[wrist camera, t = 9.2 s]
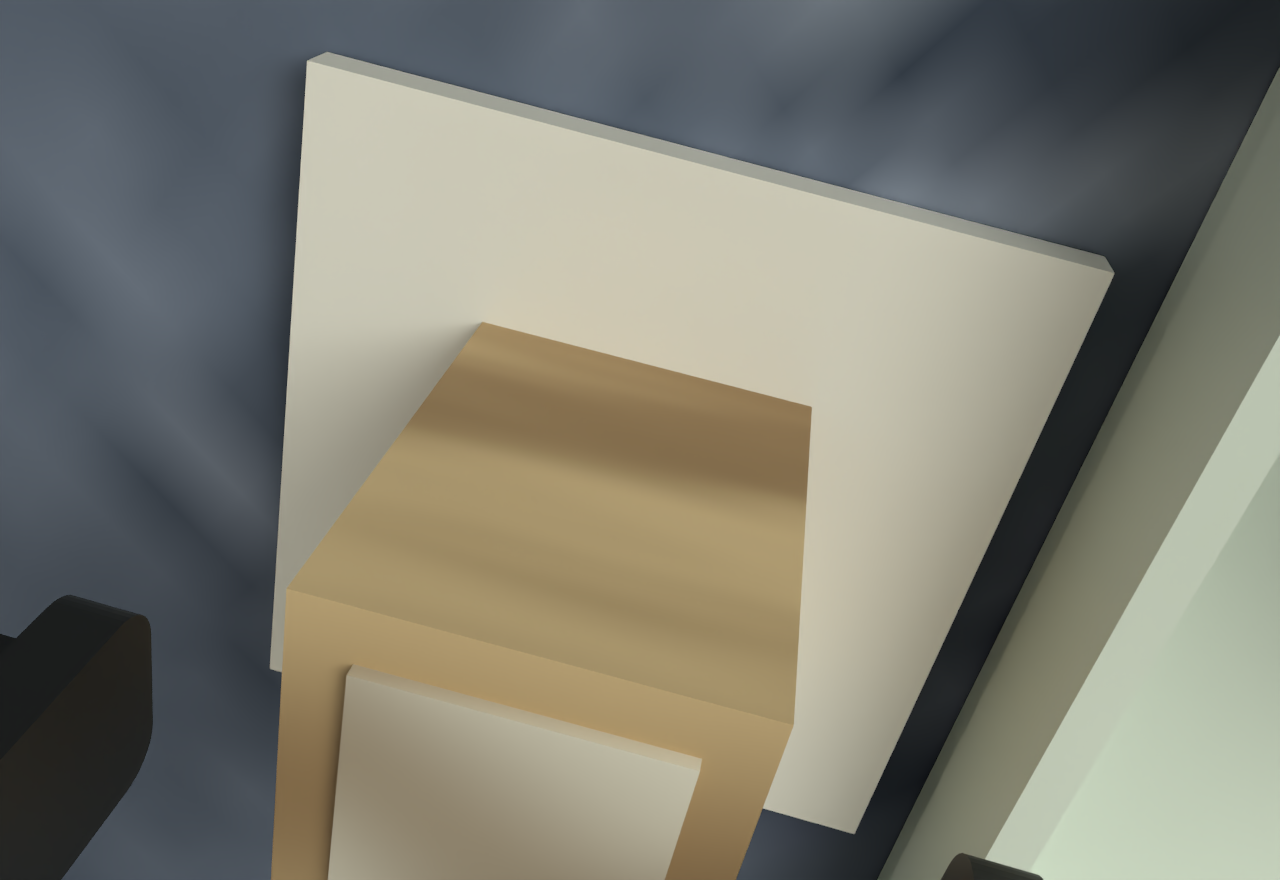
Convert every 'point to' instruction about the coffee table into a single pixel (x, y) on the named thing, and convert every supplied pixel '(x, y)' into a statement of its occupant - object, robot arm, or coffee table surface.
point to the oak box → (548, 630)
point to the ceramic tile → (687, 352)
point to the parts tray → (1147, 606)
